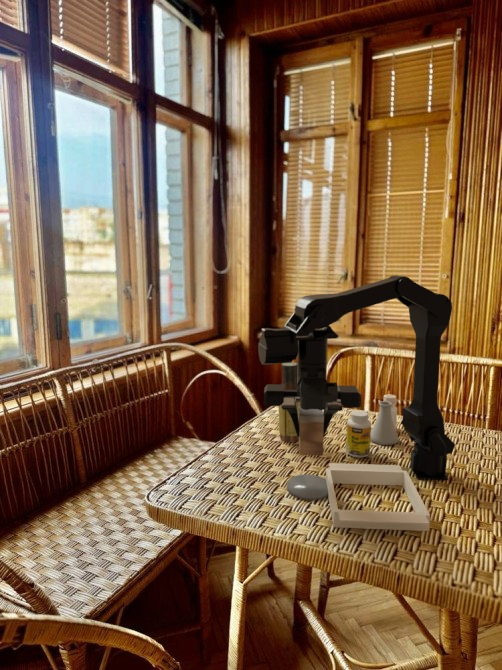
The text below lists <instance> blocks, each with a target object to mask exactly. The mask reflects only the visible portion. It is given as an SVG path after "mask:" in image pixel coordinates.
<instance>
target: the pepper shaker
mask: <svg viewBox="0 0 502 670" xmlns="http://www.w3.org/2000/svg"><path fill="white" fill-rule="evenodd" d="M383 401H388V402H391V403H392V404H393V405H392V406H391V415H392V420H393V424H394V427H395V430H396V431H397V420H398V419H397V417H398V407H397V406H396V404H397V396H396V395H394V394H389V393H388V394H384V395H383Z"/></svg>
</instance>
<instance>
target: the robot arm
mask: <svg viewBox="0 0 502 670" xmlns="http://www.w3.org/2000/svg"><path fill="white" fill-rule="evenodd" d="M394 299H397V301H399V303H400V304H403V305H404V306H405V307H407V308H408V314H409V321H410V324H411V326H412V328H413V331H414V334H415V350H414V367H413V368H414V371H413V372H414V373H413V390H412V391H413V394H412V395H413V396H412V401H410V403H409V406H402V409H401V413H402V419H401V422H400V424H401V425H402V426H403V429H404V432H406V433H407V435H408V436H409V439H410V440H411V442H413V449H411V450H410V461H409V462H410V463H409V468H410V469H411V471H412V473H414V475H415V477H416V478H417V480H435V481H436V480H437V481H448V480H449V477H448V475H447V474H446V472H447V460H448V455H449V454H450V455H451V454H452V453H453V452H454V449H455V446H456V444H455V442H453V440H452V439H451V438H450V437H448V435H447V434H446V431H445V422H444V421H445V420H444V417H443V414H442V411H441V409H440V407H439V404H438V400H439V399H438V398H439V397H438V396H439V379H440V378H439V377H440V363H441V362H440V359H441V344H442V340H441V339H442V336H443V334H444V333H445V331H446V330H447V328H448V326H449V325H450V321H451V317H452V312H453V303H452V300H451V299H450V298H449V297H448V296H447V295H445V294H444V293H437V292H434V291H432V290H430V289H429V288H426V287H424V286H423V285H420V284H418V283H417V282H415V281H414V280H412V279H411V278H409V277H408V276H405V275H397V274H395V275H391V276H389V277H387V278H384V279H381V280H378V281H375V282H371V283H367V284H365V285H360V286H358V287H355V288H351V289H348V290H345V291H341V292H336V293H335V292H334V293H320V294H319V293H318V294H309V295H305V296H302V297H300V298H299V299H298V300H297V302H296V304H295V307H294V312H293V313H292V314H291V316H290V317H289V318H288V320H287V322H286V323H285V324H284V326H283V328H282V327H281V328H269V327H265V328H264V327H263V328H261V335H260V337H259V341H258V343H257V351H258V359H259V361H260V363H261V365H277V364H283V363H291V362H294V361H295V360H297V390H284V385H281V384H275V383H273V384H272V383H269V384H268V383H267V384H266V385H265V387H264V389H263V405H264V406H265V407H279V406H280V405H281V404H282V409H283V410H287V411H288V413H289V414H290V416H291V418H292V421H293V424H294V427H295V430H296V433H297V436H298V437H299V434H300V429H299V419H298V411H297V403H296V400H300V407H301V408H302V409H304V410H309V409H318V410H322V411H323V415H324V429H323V438H325V435H326V433H327V431H328V428H329V425H330V422H331V421H332V419H333V417H334V415H335V414H336V413H337V412H341V411H343V407H344V408H349V409H350V408H353V409H354V408H356V409H357V408H358V409H359V408H361V406H362V395H361V392H360V391H359V389H358V387H357V386H356V385H338V383H337V382H332V381H331V382H329V381H328V380H327V375H328V374H327V373H328V372H327V371H328V340H332V339H333V340H334V339H338V338H339V334H337V333H336V332H335V331H334V330H333V328H332V326H330V325H332V324H334V323H337V322H338V321H340V319H341V318H343V317H344V316H345V315H347V314H349V313H353V312H356V311H359V310H363V309H366V308H368V307H372V306H375V305H378V304H382V303H385V302H388V301H391V300H394Z"/></svg>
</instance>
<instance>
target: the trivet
mask: <svg viewBox="0 0 502 670" xmlns="http://www.w3.org/2000/svg"><path fill="white" fill-rule="evenodd" d="M286 489H287V492H288V493H289V494H290V495H291V496H293V497H295V498H297V499H300V500H303V501H304V500H305V501H317V500H319V501H320V500H323V499H325V498H327V497H328V487H327V482H326V478H324V477H321V476H319V475H315V474H298V475H295V476H293V477H291V478H289V479H288V481H287V483H286Z"/></svg>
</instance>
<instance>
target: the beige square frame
mask: <svg viewBox="0 0 502 670" xmlns="http://www.w3.org/2000/svg"><path fill="white" fill-rule="evenodd" d="M328 466H329V467H328V468H325V479H326V482H327V487H328V496H327V497H328V501H329V502H328V503H329V508H330V515H331V521H332V526H333V528H341V529H342V528H343V529H344V528H347V529H369V530H370V529H371V530H392V531H395V530H396V531H418V532H419V531H420V532H423V531H424V532H429V531H430V523H431V522H430V520H431V514H430V513H429V510H428V509H427V506H426V505H425V504H424V501H423V499H422V498H421V496H420V493H419V492H418V490H417V488H416V486H415V484H414V482H413V481H412V479H411V477H410V475H409V473H408V471H407V470H403V469H402V466H401V465H398V464H369V463H368V464H367V463H342V462H341V463H335V462H332V463H331V462H329V463H328ZM340 483H341V484H342V485H346V484H347V485H367V486H370V485H373V486H396V485H399V486H400V487H401V486H402V487H403V490H404V491H405V493H406V496H407V498H408V500H409V502H410V504H411V506H412V509H413V510H414V512H411V511H410V512H409V511H391V510H390V511H386V510H365V509H364V510H363V509H362V510H360V509H359V510H357V509H339V508H338V503H337V497H336V491H335V487H334V484H340ZM341 484H340V485H341Z"/></svg>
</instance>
